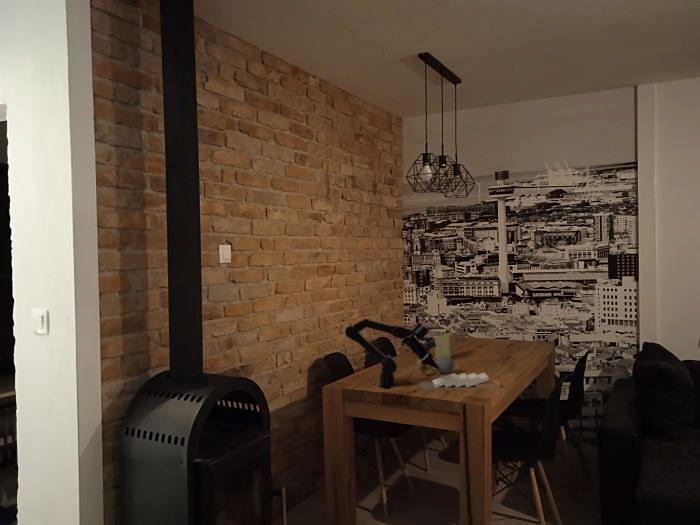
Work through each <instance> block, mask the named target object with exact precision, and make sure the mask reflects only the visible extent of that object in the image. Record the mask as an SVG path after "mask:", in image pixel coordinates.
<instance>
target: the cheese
mask: <svg viewBox="0 0 700 525" xmlns="http://www.w3.org/2000/svg"><path fill="white" fill-rule="evenodd" d="M455 340H456V339H455V332H454V331H449V332H447V333H444V334H439V335H436V336H435V337H434V342H435V344H436V347H434V351H435V352H434V353H435V359H436V360H437V359H438V358H439V357H440V356H443V355H446V356H449V357H451V358H452V357H454V355H455V354H456V341H455Z"/></svg>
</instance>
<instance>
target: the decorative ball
mask: <svg viewBox="0 0 700 525" xmlns="http://www.w3.org/2000/svg"><path fill="white" fill-rule="evenodd" d="M435 363H436V364H437V365H438V367H439V372H440V374H446V375H448V374H451V372H452V371H453V370H454V367H455V361H454V360H453V358H452V357H449V356H446V355H443V356H440V357H439V358H438V359H436V361H435ZM437 369H438V368H437Z"/></svg>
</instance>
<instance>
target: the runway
mask: <svg viewBox="0 0 700 525" xmlns="http://www.w3.org/2000/svg"><path fill="white" fill-rule="evenodd" d="M419 384H420V387H421V389H422V390H423V389H424V390H430V389H431V390H436V389H437V390H445V389H447V390H449V389H451V390H455V389H457V390H458V389H459V390H460V389H462V390H464V389H465V390H467V389H468V390H469V389H480V390H481V389H485V388H476V387H475V386H474V385H472V386H470V387H467V388H466V387H465V385H462V386H459V387H457V388H456V387H455V385H452V386H449V387H445V386H444V385H442V386H439V387H436V388H435V386H434V384H433V382H419Z"/></svg>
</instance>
